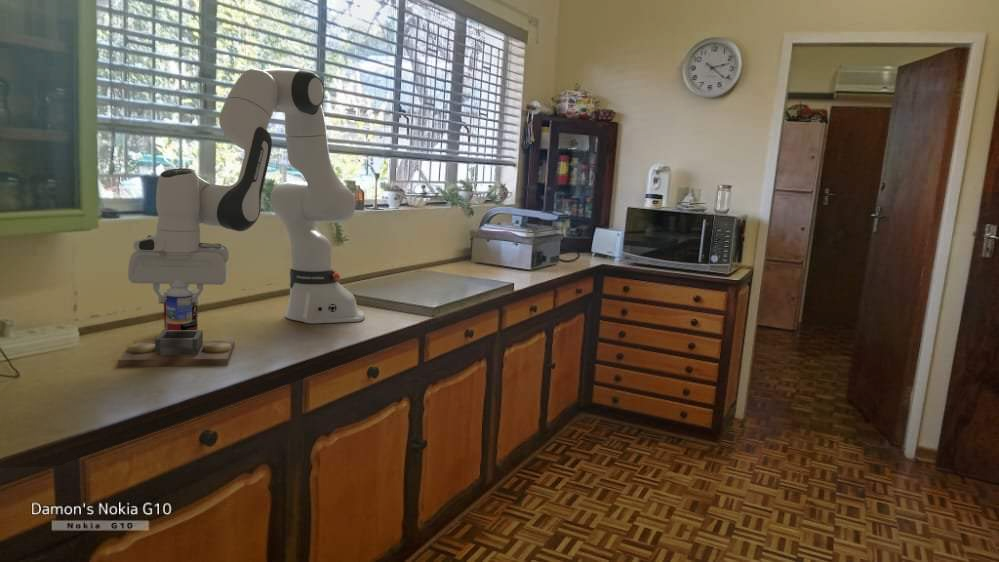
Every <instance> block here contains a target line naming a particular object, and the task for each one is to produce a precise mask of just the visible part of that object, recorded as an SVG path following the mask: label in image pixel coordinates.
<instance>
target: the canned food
mask: <svg viewBox="0 0 999 562" xmlns="http://www.w3.org/2000/svg"><path fill="white" fill-rule="evenodd" d="M190 289H191V290H192V295H196V294H197V293H198V291H197V289H192V288H190ZM167 290H168V289H166V290H164V291H163V295H166V291H167ZM163 321H164V323H163V324H164V325H163V327H164V329H163V330H199V329H198V328H199V327H198V322H199V321H198V304H192V321H191V322H190V323H187V324H170V323H167V322H166V303H163Z"/></svg>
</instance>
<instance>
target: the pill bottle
mask: <svg viewBox="0 0 999 562" xmlns="http://www.w3.org/2000/svg"><path fill="white" fill-rule="evenodd" d="M189 286H190V284H184V283H183V282H182V281H174V282H173V283H172V284H169V287H170V288H168V289H166V290H167V291H166V290H165V291H166V322H167V323H170V324H187V323H190V322H191V321H192V303H191V301H192V299H191V296H192V290H193V289H192V288H189ZM191 289H192V290H191Z"/></svg>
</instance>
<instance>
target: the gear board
mask: <svg viewBox="0 0 999 562" xmlns="http://www.w3.org/2000/svg"><path fill="white" fill-rule="evenodd" d="M203 333H204V332H203V329H198V330H164V329H163V330H161V332H160V333H159V334H158V335H157V336H156V338H155V340H134V341H133V342H132V344H130V345H128V346H127V347H126V350H125V352H124V353H122V355H121V356H120V357H118V360H117V367H119V368H121V367H122V368H126V367H127V368H128V367H130V368H131V367H133V368H134V367H192V366H193V367H194V366H195V367H197V366H200V367H203V366H206V367H207V366H208V367H209V366H228V365H229V362H230V360H231V358H232V354H233V352H234V349H235V346H236V344H235V343H236V341H235V340H204V334H203Z"/></svg>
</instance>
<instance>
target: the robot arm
mask: <svg viewBox="0 0 999 562" xmlns="http://www.w3.org/2000/svg"><path fill="white" fill-rule="evenodd" d="M324 99H325V85H324V83H323V81H322V79H321V78H320V76H319V75H318V74H317V73H315V72H314V71H310V70H307V69H295V68H287V67H284V68H281V67H280V68H271V69H270V68H269V69H263V68H260V69H258V68H249V69H246V70H245V71H244V72H243V73H242V74H241V75H240V76H239V77H238V79H237V80H236V81H235V83H234V84H233V86H232V88H231V89H230V92H229V93H228V95H227V98H226V99H225V102H224V104H223V106H222V108H221V111H220V114H219V118H218V119H219V120H218V123H219V127H220V129H221V132H222V134H223V135H224V136H225V138H227V139H228V140H229V141H230V142H231V143H233V144H234V145H235V146H237V147H238V148H240V149H242V150H244V152H243V153H244V155H243V159H242V163H241V167H240V171H239V175H238V179H237V181H236V182H235V183H233V184H231V185H221V184H213V183H210V182H209V181H206V180H204V179H203V178H201V177H200V176H199V175H198V174H197V171H196V170H195V169H192V168H187V167H186V168H185V167H183V168H182V167H180V168H171V169H169V168H168V169H166V170H163V171H162V172H161V173H160V174H159V176H158V181H157V185H156V195H155V204H156V205H155V208H156V212H157V217H158V219H157V220H158V222H157V224H156V233H155V234H149V235H147V236H144V237H141V238H139V239H136V240H134V242H133V250H135V251H134V252H132V254H131V255H130V257H129V262H128V270H127V271H128V272H127V279H128V280H129V282H130V283H131V284H150V285H151V284H152V289H153V291H154V292H155V294H156V295H157V297H158V304H164V303H166V295H164V292H162V290H161V287H162V284H163V285H165V284H166V285H170V284H172V283H173V282H174V281H182V282H183V283H184V284H189V285H196V290H198V291H197V294H196V295H192V296H191V299H192V301H191V303H192V304H197V305H199V304H200V296H201V294H202V293H203V291H204V289H205V285H210V286H211V285H216V286H217V285H221V286H222V285H224V284H225V283H226V282H227V280H228V268H227V262H228V261H229V249H228V248H227V247H226V245H225V246H224V245H222V244H221V243H210V242H209V243H208V242H201V226H200V225H202V226H209V227H215V228H225V229H228V230H232V231H237V232H244V231H247V230H249V229H250V228H251V227H252V226H253V225H254V224H255V223H256V222H257V221H258V220H259V217H260V215H261V206H262V205H261V203H262V201H261V200H262V193H263V189H264V183H265V181H266V176H267V172H268V167H269V163H270V159H271V155H272V147H273V143H272V141H273V140H272V136H271V134H270V133H269V131H268V130H269V125H270V123H271V120H272V117H273V114H274V113H281V114H284V131H285V141H286V143H285V144H286V151H287V160H288V163H289V164H290V166H291V167H292V168H293V169H295V170H296V171H298V172H299V173H300V174H301V175H302V176H303V178H304V180H305V181H297V180H294V181H293V180H291V181H284V182H279V183H276V184H275V186H273V188H272V190H270V191H271V192H270V193H269V194H270V195H269V204H270V208H271V210H272V211H273V213H274V214H275V215H276V216H277V217H278V218H279V219H280V220H281V221H282V224H283V225H284V226H285V228H286V231H287V233H288V236H289V240H290V248H291V268H290V269H289V270H290V271H289V280H288V281H289V288H290V291H289V300H288V304H287V308H286V310H285V311H286V312H285V315H284V316H285V318H286V319H288V320H292V321H298V322H303V323H306V324H329V323H332V324H333V323H352V322H353V323H355V322H361V321H363V320H364V319H365V314H364V312H363V311H362V310H360V309H359V308H358V306H357V305H358V304H357V301H356V298H355V296H354V293H352V292H350V291H349V290H348V289H347V288H345V286H343V285H342V284H341V283H339V282H338V281H339V279H340V278H341V275H340V273H339V272H337V271H336V270H334V269H333V268H332V243H331V242H330V241H331V240H329V238H327V237H326V236H325V235H323V234H322V233H321V232H320V230H319V229H318V226H317V223H318V222H319V223H326V224H327V223H330V224H335V223H336V224H337V223H342V222H343V223H344V222H348V221H349V220H350V219H351V218H352V217H353V215H354V214H355V211H356V207H357V206H356V205H357V203H356V197H355V195H354V192H353V191H352V190H351V189H350V188H349V187H348V186H347V185H345V184H344V183H343V182H342V181H341V179H340V177H338V175H337V173H336V172H335V170H334V167H333V165H332V161H331V159H330V158H331V157H330V151H329V146H328V145H329V143H328V135H327V124H326V119H325V114H324V109H323V106H322V104H323V102H324Z"/></svg>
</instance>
